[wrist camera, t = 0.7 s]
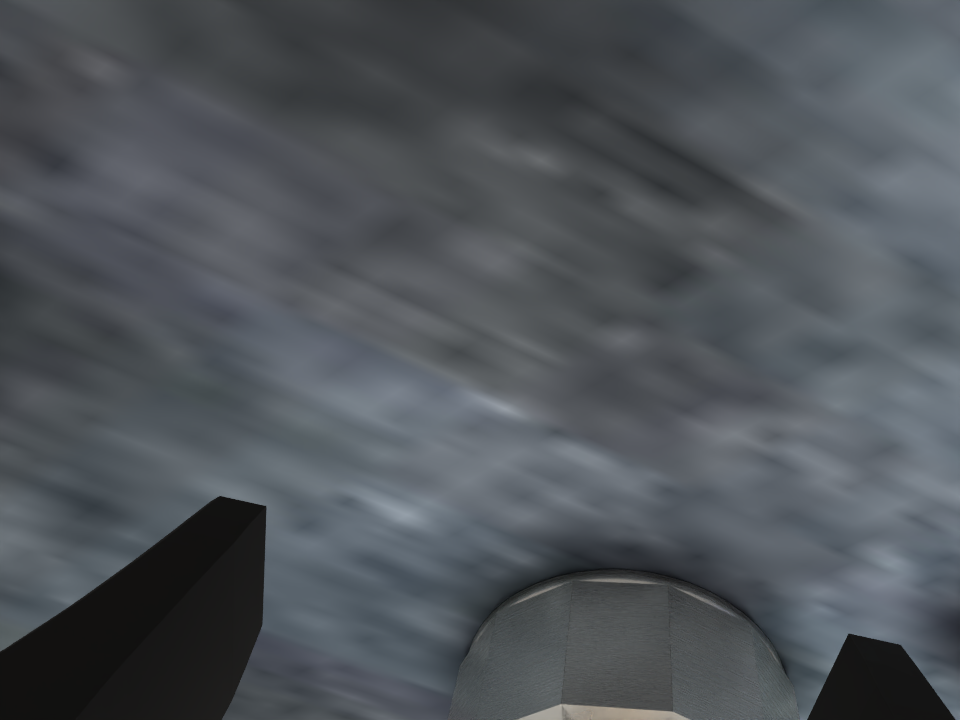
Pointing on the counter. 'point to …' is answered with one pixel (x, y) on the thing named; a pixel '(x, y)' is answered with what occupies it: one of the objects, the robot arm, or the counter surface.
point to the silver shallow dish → (620, 655)
